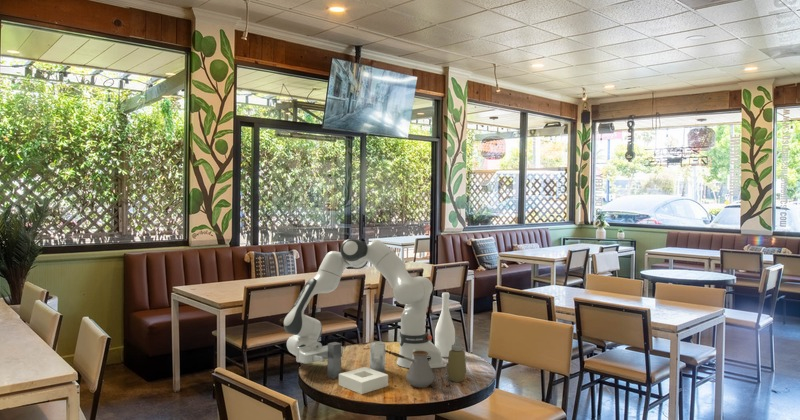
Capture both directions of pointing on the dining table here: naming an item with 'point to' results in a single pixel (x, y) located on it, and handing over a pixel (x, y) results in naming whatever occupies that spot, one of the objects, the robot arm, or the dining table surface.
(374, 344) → the round bit
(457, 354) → the squeeze bottle
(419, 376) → the coffee pot
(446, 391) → the dining table surface
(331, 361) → the square bit
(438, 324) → the wine bottle
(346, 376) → the socket block
